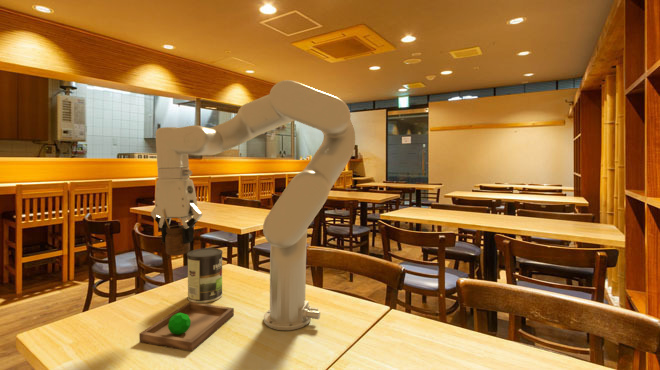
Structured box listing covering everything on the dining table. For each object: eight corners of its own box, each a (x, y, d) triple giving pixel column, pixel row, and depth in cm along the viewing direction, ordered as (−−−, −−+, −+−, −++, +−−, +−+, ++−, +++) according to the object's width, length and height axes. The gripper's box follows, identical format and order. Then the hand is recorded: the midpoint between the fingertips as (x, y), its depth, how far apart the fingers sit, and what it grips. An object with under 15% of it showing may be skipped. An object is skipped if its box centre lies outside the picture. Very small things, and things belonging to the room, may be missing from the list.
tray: (233, 315, 92) (233, 308, 92) (191, 351, 75) (191, 342, 74) (189, 309, 95) (189, 301, 95) (139, 342, 78) (139, 333, 78)
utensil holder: (191, 253, 89) (189, 208, 88) (165, 257, 86) (162, 210, 85) (188, 248, 94) (186, 206, 93) (164, 251, 91) (161, 208, 90)
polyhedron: (175, 327, 84) (175, 308, 83) (194, 328, 83) (194, 310, 83) (164, 337, 79) (163, 318, 78) (183, 339, 78) (183, 319, 78)
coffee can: (227, 290, 109) (227, 248, 108) (215, 303, 99) (215, 257, 98) (195, 289, 110) (195, 247, 108) (181, 303, 99) (180, 256, 98)
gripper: (210, 174, 90) (213, 240, 91) (157, 174, 94) (160, 237, 95) (192, 175, 82) (196, 247, 84) (135, 175, 87) (139, 244, 88)
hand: (177, 241), depth 90 cm, fingers closed on utensil holder, 5 cm apart
